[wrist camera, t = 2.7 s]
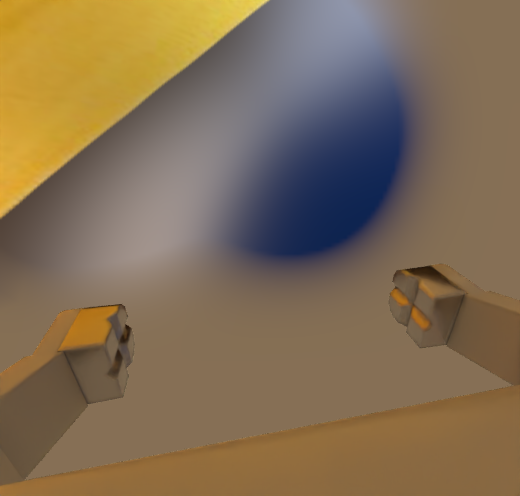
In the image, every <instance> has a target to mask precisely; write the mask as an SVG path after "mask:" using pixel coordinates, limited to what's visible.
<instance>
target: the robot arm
mask: <svg viewBox="0 0 520 496" xmlns="http://www.w3.org/2000/svg"><path fill="white" fill-rule="evenodd" d="M392 282H393V283H394V285H395V288H394V289H393V290H392V292H391V293H390V296H389V307H390V311H391V313H392V315H393V317H394V318H395V320H396V321H397V322H398V323H400V324H403V325H404V326H406V327H407V329H406V332H407V334H408V335H409V336H410V337H411V338H412V339H413V341H414V342H415V343H416V344H417V345H418V346H419V348H426V347H433V346H441V345H447V346H448V347H449V348H451V349H452V350H454V351H456V352H458V353H459V354H461V355H463V356H465V357H466V358H468V359H470V360H471V361H473V362H475V363H476V364H478V365H480V366H481V367H483V368H485V369H486V370H488V371H490V372H492V373H493V374H495V375H497V376H498V377H500V378H502V379H503V380H505V381H507V382H509V383H510V384H512V385H514V386H510V387H505V388H500V389H495V390H489V391H484V392H479V393H474V394H469V395H463V396H458V397H453V398H448V399H443V400H438V401H433V402H427V403H423V404H417V405H412V406H407V407H402V408H397V409H392V410H386V411H381V412H376V413H371V414H366V415H360V416H355V417H350V418H345V419H340V420H335V421H329V422H325V423H319V424H314V425H309V426H303V427H298V428H294V429H288V430H283V431H278V432H273V433H267V434H262V435H257V436H252V437H246V438H241V439H236V440H231V441H226V442H221V443H216V444H210V445H205V446H200V447H195V448H190V449H184V450H180V451H174V452H169V453H164V454H159V455H153V456H148V457H143V458H138V459H133V460H128V461H122V462H117V463H113V464H108V465H102V466H97V467H92V468H86V469H81V470H76V471H71V472H66V473H60V474H55V475H51V476H45V477H40V478H35V479H30V480H25V479H26V477H27V476H28V475H29V474H30V473H31V471H32V470H33V469H34V468H35V467H36V466H37V465H38V463H39V462H40V461H41V460H42V459H43V458H44V456H45V455H46V454H47V453H48V452H49V451H50V449H51V448H52V447H53V446H54V445H55V444H56V442H57V441H58V440H59V439H60V438H61V437H62V436H63V434H64V433H65V432H66V431H67V430H68V429H69V427H70V426H71V425H72V424H73V423H74V422H75V420H76V419H77V418H78V417H79V416H80V414H81V413H82V412H83V411H84V410H85V409H86V408H87V406H88V405H87V404H91V403H96V402H101V401H107V400H112V399H117V398H122V397H123V396H124V392H125V388H126V385H127V380H128V377H129V375H128V372H127V367H128V366H129V365H130V364H131V363H132V361H133V356H134V345H135V343H134V335H133V331H132V328H131V327H129V326H127V325H126V321H127V317H128V315H127V312H126V309H125V306H123V305H122V304H118V305H108V306H98V307H89V308H79V309H71V310H64V311H62V312H60V313H59V315H58V316H57V317H56V319H55V320H54V322H53V324H52V326H51V327H50V328H49V330H48V331H47V333H46V334H45V336H44V338H43V339H42V341H41V342H40V344H39V345H38V347H37V348H36V350H35V352H34V353H33V355H32V356H27V357H24V358H22V359H21V360H20V361H18V362H16V363H15V364H14V365H12V366H11V367H9V368H8V369H6V370H5V371H3V372H2V373H0V496H520V300H517V299H513V298H510V297H507V296H504V295H501V294H498V293H495V292H492V291H487V292H485V291H484V290H483V289H481V288H480V287H478V286H477V285H475V284H474V283H473V282H471V281H470V280H468V279H467V278H465V277H464V276H463V275H461V274H460V273H458V272H457V271H455V270H454V269H453V268H451V267H450V266H448V265H446V264H435V265H429V266H425V267H418V268H410V269H403V270H397V271H396V273H395V274H394V277H393V281H392Z"/></svg>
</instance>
